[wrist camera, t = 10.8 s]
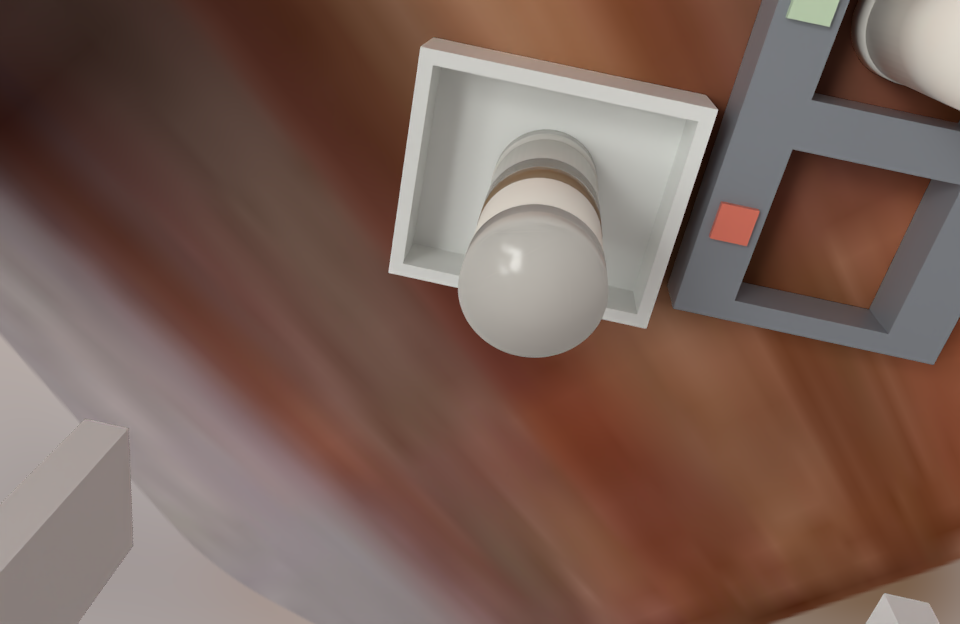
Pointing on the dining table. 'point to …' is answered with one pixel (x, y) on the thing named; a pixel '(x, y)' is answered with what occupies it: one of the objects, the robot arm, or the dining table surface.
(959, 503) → the dining table surface
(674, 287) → the fuse panel
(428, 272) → the parts tray
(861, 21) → the fuse
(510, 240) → the fuse
